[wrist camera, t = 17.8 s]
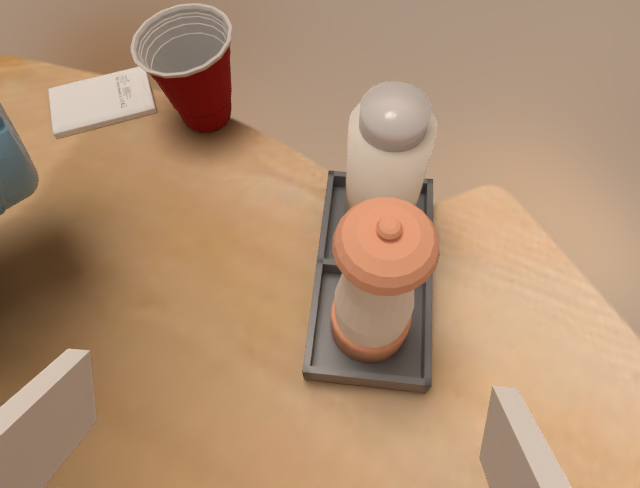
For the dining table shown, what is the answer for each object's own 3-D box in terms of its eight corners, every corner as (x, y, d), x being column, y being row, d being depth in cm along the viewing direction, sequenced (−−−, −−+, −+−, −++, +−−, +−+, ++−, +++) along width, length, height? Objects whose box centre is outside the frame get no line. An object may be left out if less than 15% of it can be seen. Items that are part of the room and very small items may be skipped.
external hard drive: (54, 96, 64) (148, 72, 65) (59, 142, 60) (158, 115, 62) (47, 87, 62) (143, 63, 64) (52, 133, 59) (154, 106, 60)
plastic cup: (161, 91, 63) (126, 8, 52) (243, 78, 64) (226, -7, 53) (165, 157, 58) (127, 79, 47) (255, 141, 59) (238, 62, 48)
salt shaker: (340, 254, 50) (345, 139, 34) (346, 199, 53) (353, 70, 37) (407, 260, 50) (442, 146, 34) (409, 204, 53) (442, 76, 37)
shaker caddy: (304, 379, 45) (302, 371, 42) (329, 186, 55) (328, 170, 53) (425, 393, 44) (431, 386, 42) (428, 194, 54) (433, 179, 52)
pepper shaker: (326, 293, 48) (324, 180, 31) (399, 286, 48) (436, 170, 31) (334, 367, 45) (337, 284, 28) (413, 359, 45) (463, 272, 28)
